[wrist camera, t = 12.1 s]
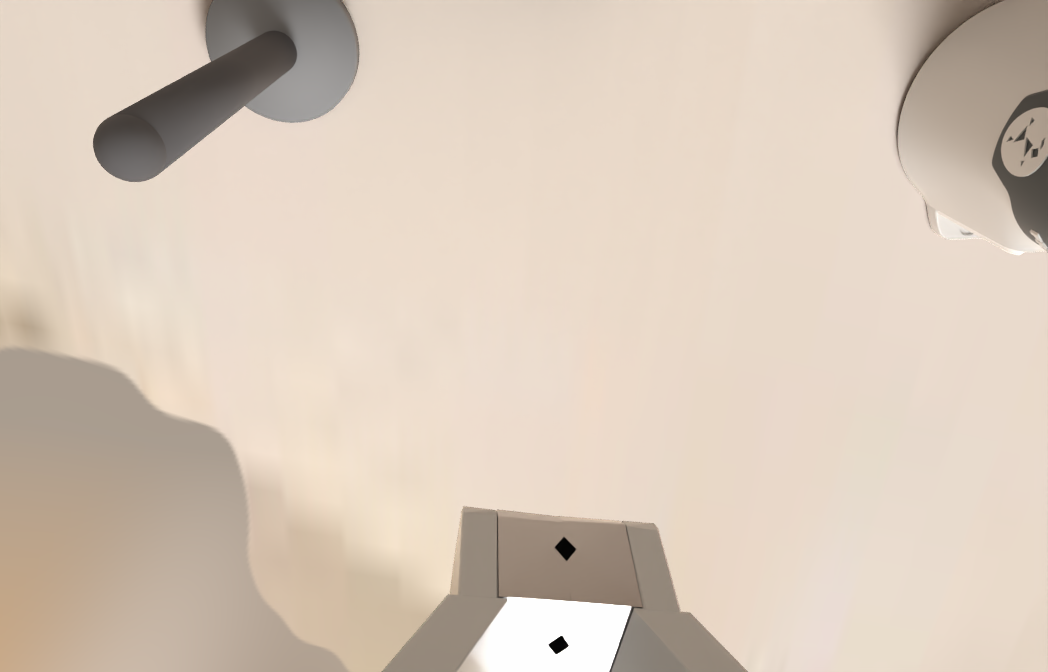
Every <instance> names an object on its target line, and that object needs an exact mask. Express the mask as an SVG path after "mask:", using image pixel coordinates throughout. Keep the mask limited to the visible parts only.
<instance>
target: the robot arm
mask: <svg viewBox="0 0 1048 672" xmlns="http://www.w3.org/2000/svg"><path fill="white" fill-rule="evenodd" d="M898 150H899V156H900V161H901V164H902V167H903V169H904V172H905V174H906V176H907V177H908V179H909V181H910V182H911V184H912V185H913V186H914V187H915V188H916V190H917V191H918V192H919V193H920V194H921V196H922V197H923V199H924V200H925V202H926V204H927V212H928V218H929V222H930V226H931V229H932V230H933V232H934V233H935V234H936V235H938V236H940V237H942V238H944V239H948V240H958V239H976V238H982V239H984V240H986V241H988V242H990V243H991V244H993V245H995V246H997V247H999V248H1001V249H1002V250H1004V251H1006V252H1008V253H1011V254H1015V255H1021V254H1022V253H1024V252H1043V251H1047V252H1048V0H1004V1H1001V2H999V3H997V4H995V5H993V6H991V7H989V8H987V9H985V10H983V11H981V12H980V13H978V14H976V15H975V16H973V17H972V18H970V19H969V20H967V21H966V22H964V23H963V24H962V25H960V26H959V27H958V28H957V29H956V30H954V31H953V32H952V33H951V34H950V35H949V36H948V37H947V38H946V39H945V40H944V41H943V42H942V43H941V44H940V45H939V46H938V47H937V48H936V49H935V50H934V52H933V53H932V54H931V55H930V57H929V58H928V59H927V61H926V62H925V63H924V65H923V66H922V68H921V69H920V71H919V72H918V74H917V76H916V77H915V79H914V81H913V83H912V85H911V87H910V89H909V91H908V94H907V96H906V99H905V102H904V105H903V108H902V111H901V116H900V121H899V127H898ZM382 672H748V671H747V670H746V669H745V668H744V667H743V666H742V665H741V664H740V663H739V662H738V661H737V660H736V659H735V658H734V657H733V656H732V655H731V654H730V653H729V652H728V651H727V650H726V649H725V648H724V647H723V646H722V645H721V644H720V643H719V642H718V641H717V640H716V638H715V637H714V636H713V635H712V634H711V633H710V632H709V631H708V630H707V629H706V628H705V627H704V626H703V625H702V624H701V623H700V622H699V621H698V620H697V619H696V618H695V617H694V616H693V615H692V614H691V613H688V612H681V611H680V607H679V603H678V600H677V596H676V592H675V589H674V585H673V581H672V578H671V574H670V570H669V566H668V563H667V559H666V555H665V552H664V548H663V544H662V541H661V537H660V533H659V530H658V528H657V527H656V525H655V524H654V523H642V522H629V521H622V522H621V521H615V520H602V519H590V518H577V517H564V516H550V515H541V514H532V513H524V512H515V511H506V510H496V511H495V510H490V509H482V508H474V507H465V506H463V509H462V511H461V518H460V524H459V531H458V537H457V543H456V550H455V556H454V564H453V572H452V580H451V588H450V594H448V595H447V596H446V597H445V598H444V600H443V601H442V602H441V603H440V604H439V605H438V607H437V608H436V609H435V610H434V611H433V612H432V614H431V615H430V616H429V617H428V618H427V619H426V621H425V622H424V623H423V624H422V625H421V626H420V628H419V629H418V630H417V631H416V632H415V633H414V635H413V636H412V637H411V638H410V639H409V640H408V642H407V643H406V644H405V645H404V646H403V647H402V649H401V650H400V651H399V652H398V653H397V654H396V656H395V657H394V658H393V659H392V660H391V661H390V663H389V664H388V665H387V666H386V667H385V668H384V670H383V671H382Z"/></svg>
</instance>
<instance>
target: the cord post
mask: <svg viewBox="0 0 1048 672" xmlns="http://www.w3.org/2000/svg"><path fill="white" fill-rule="evenodd" d="M206 43H207V49H208V53H209V57H210V60H211V62H210V63H208V64H206V65H204V66H203V67H201V68H199V69H197V70H195V71H193V72H192V73H190V74H188V75H186V76H184V77H182V78H181V79H179V80H177V81H175V82H173V83H171V84H170V85H168V86H166V87H164V88H162V89H160V90H158V91H157V92H155V93H153V94H151V95H149V96H147V97H146V98H144V99H142V100H140V101H138V102H136V103H135V104H133V105H131V106H129V107H127V108H125V109H124V110H122V111H120V112H118V113H116V114H114V115H113V116H111V117H109V118H107V119H106V120H104V121H103V122H102V123H101V124H100V125H99V127H98V128H97V130H96V132H95V135H94V139H93V148H94V152H95V155H96V158H97V160H98V161H99V163H100V164H101V166H102V167H103V168H104V169H105V170H106V171H107V172H109V173H110V174H111V175H113V176H115V177H117V178H119V179H122V180H125V181H129V182H141V181H146V180H149V179H151V178H153V177H155V176H157V175H158V174H159V173H161V172H162V171H163V170H164V169H166V168H167V167H168V166H169V165H171V164H172V163H173V162H174V161H176V160H177V159H178V158H180V157H181V156H182V155H183V154H185V153H186V152H187V151H188V150H190V149H191V148H192V147H193V146H195V145H196V144H197V143H198V142H200V141H201V140H202V139H203V138H205V137H206V136H207V135H208V134H210V133H211V132H212V131H214V130H215V129H216V128H217V127H219V126H220V125H221V124H222V123H224V122H225V121H226V120H227V119H229V118H230V117H231V116H232V115H234V114H235V113H236V112H237V111H239V110H240V109H241V108H242V107H244V106H245V107H247V108H248V109H250V110H252V111H253V112H255V113H257V114H259V115H261V116H263V117H266V118H269V119H272V120H276V121H281V122H290V123H294V122H304V121H310V120H313V119H316V118H318V117H320V116H322V115H324V114H326V113H328V112H329V111H330V110H332V109H333V108H334V107H335V106H336V105H337V104H338V103H339V102H340V101H341V100H342V98H343V97H344V96H345V95H346V93H347V92H348V91H349V89H350V87H351V85H352V84H353V81H354V79H355V76H356V73H357V69H358V64H359V43H358V36H357V33H356V29H355V26H354V23H353V21H352V18H351V16H350V14H349V12H348V11H347V9H346V7H345V6H344V4H343V3H342V1H341V0H213V1H212V3H211V5H210V8H209V12H208V15H207V21H206Z"/></svg>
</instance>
